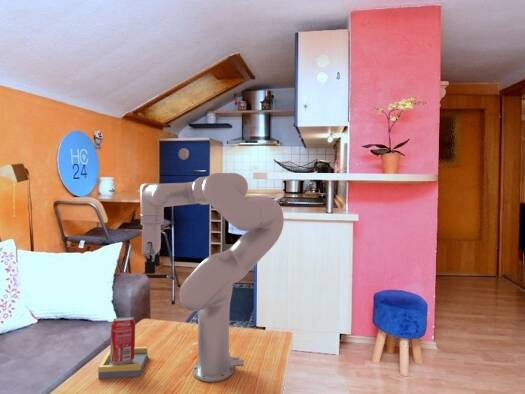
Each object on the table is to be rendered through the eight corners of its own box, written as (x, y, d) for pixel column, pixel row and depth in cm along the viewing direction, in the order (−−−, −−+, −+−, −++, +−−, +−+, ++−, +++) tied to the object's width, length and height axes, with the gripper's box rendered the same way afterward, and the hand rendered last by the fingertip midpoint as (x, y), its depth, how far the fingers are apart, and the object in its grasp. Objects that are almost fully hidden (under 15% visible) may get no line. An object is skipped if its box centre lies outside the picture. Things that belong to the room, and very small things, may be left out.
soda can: (138, 361, 116) (140, 318, 118) (117, 366, 111) (119, 320, 113) (125, 358, 120) (127, 316, 123) (104, 363, 115) (107, 319, 117)
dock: (147, 356, 125) (147, 346, 125) (140, 376, 113) (139, 365, 113) (110, 358, 123) (109, 348, 123) (98, 378, 112) (98, 367, 111)
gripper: (145, 216, 135) (146, 263, 136) (135, 223, 118) (135, 276, 119) (167, 216, 136) (167, 263, 137) (159, 223, 119) (159, 276, 120)
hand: (152, 269), depth 128 cm, fingers open, 9 cm apart
